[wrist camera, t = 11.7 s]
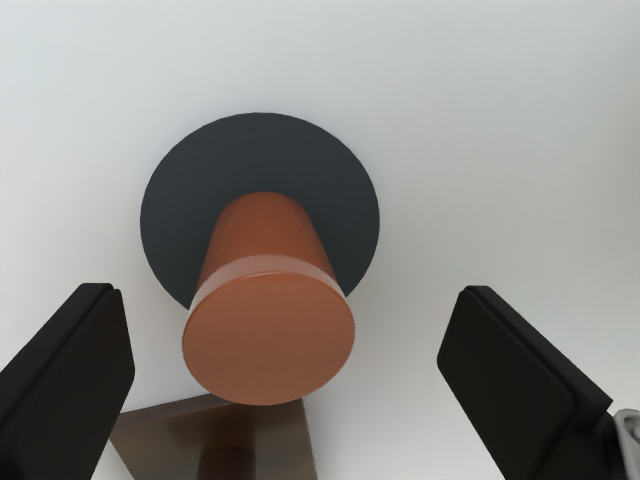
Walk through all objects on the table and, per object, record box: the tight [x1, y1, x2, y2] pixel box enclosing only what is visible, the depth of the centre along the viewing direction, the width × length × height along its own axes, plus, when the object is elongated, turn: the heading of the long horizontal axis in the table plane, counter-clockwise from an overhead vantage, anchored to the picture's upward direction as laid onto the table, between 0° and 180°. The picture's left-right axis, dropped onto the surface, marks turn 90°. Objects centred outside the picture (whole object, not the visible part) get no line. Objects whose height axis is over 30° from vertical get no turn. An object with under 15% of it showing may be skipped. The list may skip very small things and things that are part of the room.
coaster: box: [140, 113, 380, 310], centre depth 16 cm, size 11×11×1 cm
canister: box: [182, 192, 355, 406], centre depth 12 cm, size 5×5×7 cm
